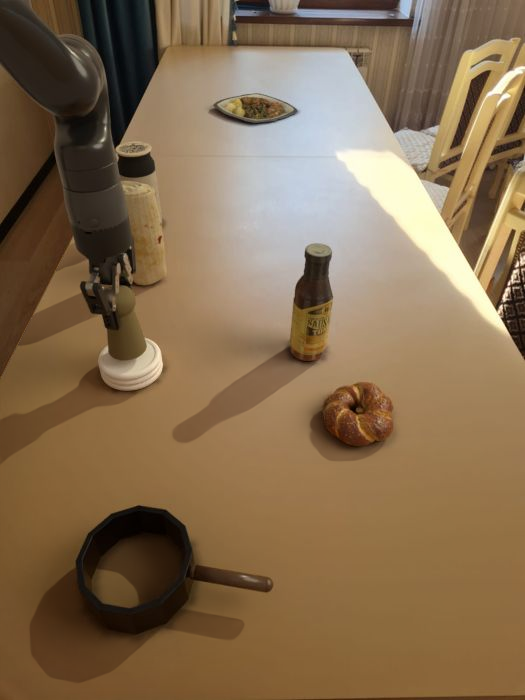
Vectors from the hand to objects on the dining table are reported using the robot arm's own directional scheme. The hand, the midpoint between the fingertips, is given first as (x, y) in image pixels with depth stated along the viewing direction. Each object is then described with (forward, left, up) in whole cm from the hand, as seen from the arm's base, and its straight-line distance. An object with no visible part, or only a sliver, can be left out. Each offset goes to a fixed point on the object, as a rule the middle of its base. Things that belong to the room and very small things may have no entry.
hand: (120, 315), depth 81 cm
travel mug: (-14, +47, -12) cm, 50 cm away
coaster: (0, 0, -12) cm, 12 cm away
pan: (+18, -33, -11) cm, 39 cm away
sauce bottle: (+28, +10, -12) cm, 32 cm away
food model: (-7, +26, -12) cm, 29 cm away
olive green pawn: (0, 0, -7) cm, 7 cm away
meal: (-3, +130, -12) cm, 131 cm away
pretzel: (+37, -4, -12) cm, 39 cm away
